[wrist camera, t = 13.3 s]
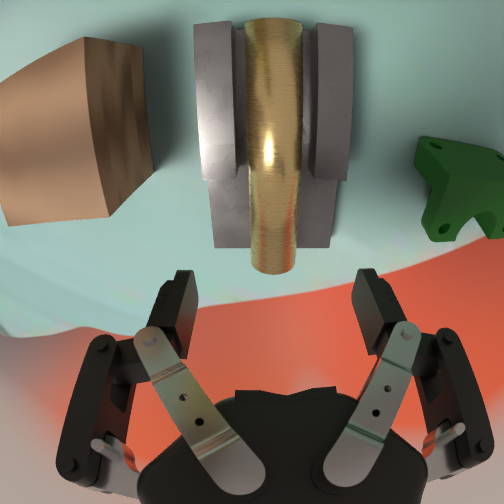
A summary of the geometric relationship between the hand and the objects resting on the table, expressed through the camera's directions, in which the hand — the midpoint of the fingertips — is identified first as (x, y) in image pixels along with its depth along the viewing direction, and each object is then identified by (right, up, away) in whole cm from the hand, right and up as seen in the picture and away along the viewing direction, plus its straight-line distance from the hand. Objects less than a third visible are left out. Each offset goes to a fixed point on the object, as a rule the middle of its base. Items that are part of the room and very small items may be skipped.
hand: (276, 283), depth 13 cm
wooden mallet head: (-14, +12, +4) cm, 18 cm away
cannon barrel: (0, +8, +4) cm, 9 cm away
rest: (0, +9, +5) cm, 11 cm away
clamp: (+17, +8, +6) cm, 20 cm away
